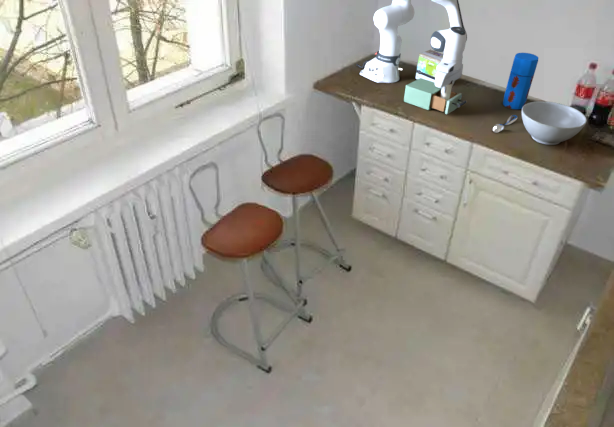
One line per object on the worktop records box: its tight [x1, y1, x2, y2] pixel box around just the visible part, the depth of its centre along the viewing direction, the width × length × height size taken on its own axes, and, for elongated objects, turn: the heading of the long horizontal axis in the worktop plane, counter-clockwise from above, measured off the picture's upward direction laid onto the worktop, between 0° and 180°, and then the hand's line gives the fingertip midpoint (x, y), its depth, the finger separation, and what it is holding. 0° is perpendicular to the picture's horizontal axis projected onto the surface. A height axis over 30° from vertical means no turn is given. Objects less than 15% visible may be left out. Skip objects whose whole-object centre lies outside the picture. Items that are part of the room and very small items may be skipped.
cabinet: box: [403, 78, 441, 111], centre depth 262 cm, size 15×14×9 cm
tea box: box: [415, 49, 444, 82], centre depth 282 cm, size 15×10×15 cm, turn 41°
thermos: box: [502, 52, 539, 110], centre depth 257 cm, size 11×11×25 cm
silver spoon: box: [492, 114, 518, 134], centre depth 244 cm, size 20×4×5 cm
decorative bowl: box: [521, 100, 588, 146], centre depth 232 cm, size 27×27×12 cm
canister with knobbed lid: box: [440, 80, 454, 107], centre depth 253 cm, size 5×5×14 cm
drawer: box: [430, 90, 467, 115], centre depth 255 cm, size 18×12×7 cm
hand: (446, 91), depth 253 cm, fingers closed on canister with knobbed lid, 4 cm apart
